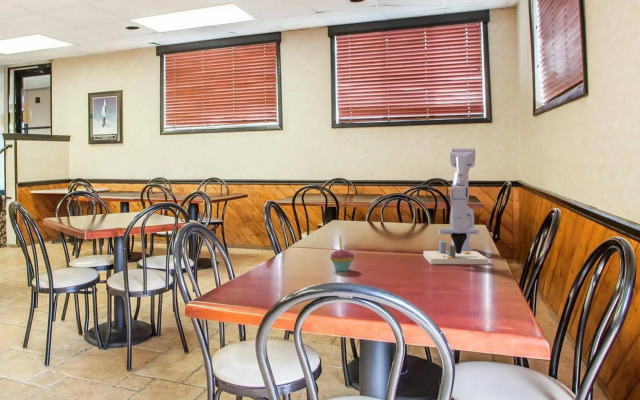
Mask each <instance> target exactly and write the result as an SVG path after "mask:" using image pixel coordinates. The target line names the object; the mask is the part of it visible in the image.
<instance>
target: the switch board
mask: <svg viewBox="0 0 640 400" xmlns="http://www.w3.org/2000/svg"><path fill="white" fill-rule="evenodd" d="M422 255H423V257H424V258H425V259H426V260H427V262H428V263H429V264H431V265H489V258H487V256H484V255H483V254H481V253H480V252H478V251H477V250H473V251H461V254H457V253H456V251H455V257H452V256H448V250H446V252H440V251H439V250H423V253H422Z"/></svg>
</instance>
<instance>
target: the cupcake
mask: <svg viewBox="0 0 640 400" xmlns="http://www.w3.org/2000/svg"><path fill="white" fill-rule="evenodd" d="M342 242H343V241H342V237H341V236H339V250H334V251H333V252H332V253H331V254H330V261H331V263H332V264H333V266H334V267H333V268H334V269H335V271H337V272H347V271H349V270H350V267H351V264H352V262H353V261H355V259H356V258H355V254H354V253H352V252H351V251H350V250H346V249H343V244H342Z"/></svg>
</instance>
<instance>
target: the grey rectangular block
mask: <svg viewBox="0 0 640 400" xmlns="http://www.w3.org/2000/svg"><path fill="white" fill-rule="evenodd" d="M438 251H440V252H446V251H447V242H446V240H438Z"/></svg>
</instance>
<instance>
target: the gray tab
mask: <svg viewBox="0 0 640 400" xmlns="http://www.w3.org/2000/svg"><path fill="white" fill-rule="evenodd" d="M447 245H448V246H447V251H448V256H452V257H455V247H456V246H454V245H452V244H447Z"/></svg>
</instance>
